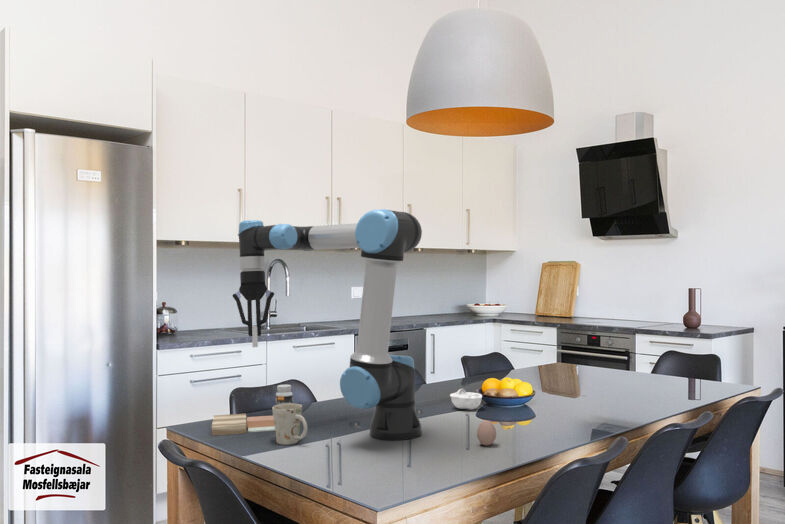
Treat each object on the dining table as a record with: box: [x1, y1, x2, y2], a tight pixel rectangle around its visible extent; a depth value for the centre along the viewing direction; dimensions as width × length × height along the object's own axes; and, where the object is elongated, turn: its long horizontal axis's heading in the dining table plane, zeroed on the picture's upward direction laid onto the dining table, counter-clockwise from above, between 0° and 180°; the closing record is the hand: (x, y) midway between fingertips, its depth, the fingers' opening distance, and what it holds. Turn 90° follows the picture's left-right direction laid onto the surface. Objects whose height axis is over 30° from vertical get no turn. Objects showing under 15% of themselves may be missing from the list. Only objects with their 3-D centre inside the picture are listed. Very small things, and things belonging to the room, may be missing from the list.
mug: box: [272, 402, 308, 446], centre depth 186 cm, size 8×13×10 cm, turn 51°
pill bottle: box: [275, 384, 294, 405], centre depth 221 cm, size 6×6×10 cm
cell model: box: [449, 388, 483, 411], centre depth 226 cm, size 10×12×7 cm
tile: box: [246, 415, 275, 429], centre depth 206 cm, size 9×6×2 cm, turn 103°
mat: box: [247, 426, 275, 433], centre depth 208 cm, size 16×12×1 cm
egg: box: [476, 419, 497, 447], centre depth 180 cm, size 5×5×7 cm
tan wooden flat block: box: [211, 413, 248, 437], centre depth 204 cm, size 16×10×2 cm, turn 13°
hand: (255, 346), depth 205 cm, fingers closed
